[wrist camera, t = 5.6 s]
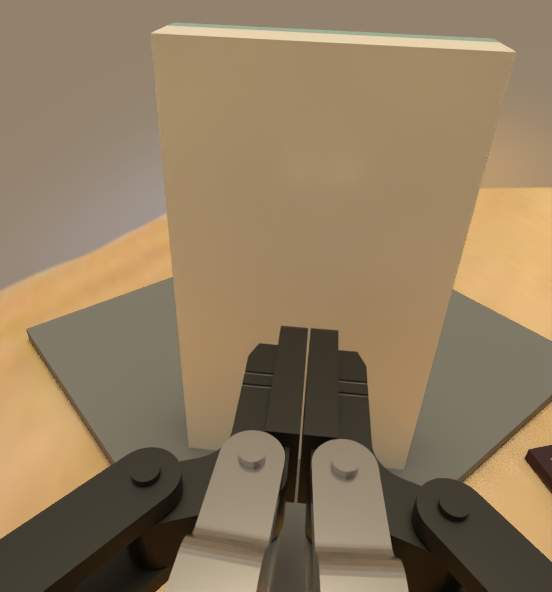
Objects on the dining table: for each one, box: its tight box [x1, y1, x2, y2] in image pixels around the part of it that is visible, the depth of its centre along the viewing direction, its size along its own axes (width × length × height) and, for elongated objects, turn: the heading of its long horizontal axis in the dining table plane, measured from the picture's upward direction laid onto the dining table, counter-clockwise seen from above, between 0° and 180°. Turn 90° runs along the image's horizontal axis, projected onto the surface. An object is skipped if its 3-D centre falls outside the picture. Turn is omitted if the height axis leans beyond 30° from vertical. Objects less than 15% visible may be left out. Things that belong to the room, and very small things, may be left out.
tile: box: [151, 23, 516, 470], centre depth 16 cm, size 2×8×14 cm, turn 84°
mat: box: [26, 277, 552, 592], centre depth 25 cm, size 20×18×1 cm
